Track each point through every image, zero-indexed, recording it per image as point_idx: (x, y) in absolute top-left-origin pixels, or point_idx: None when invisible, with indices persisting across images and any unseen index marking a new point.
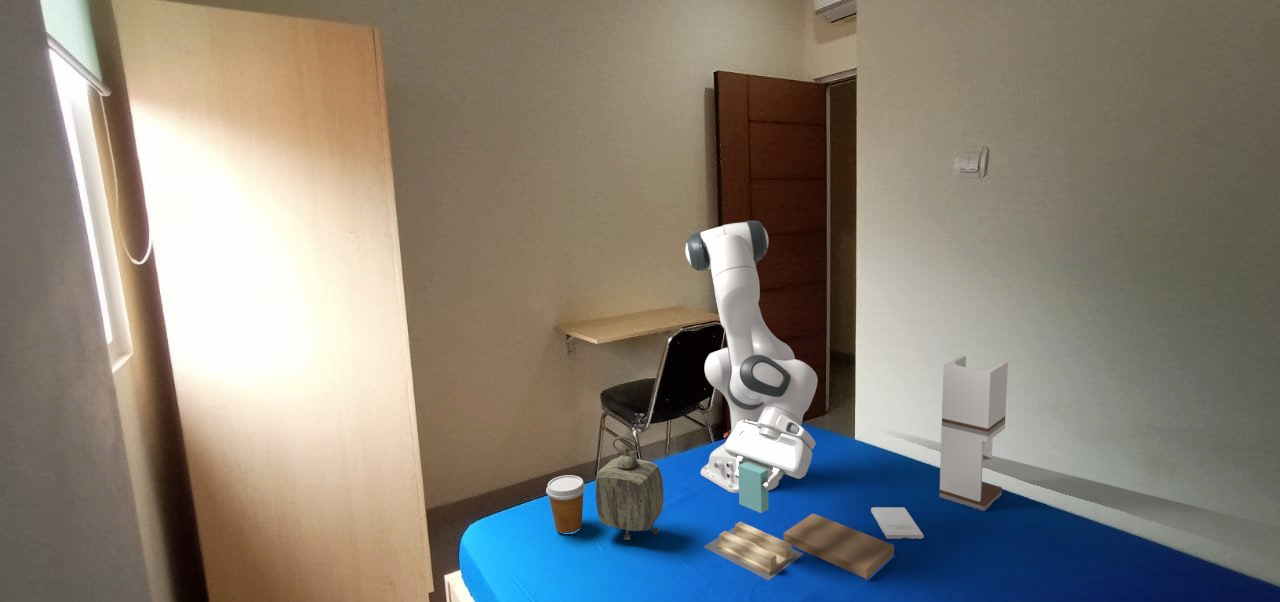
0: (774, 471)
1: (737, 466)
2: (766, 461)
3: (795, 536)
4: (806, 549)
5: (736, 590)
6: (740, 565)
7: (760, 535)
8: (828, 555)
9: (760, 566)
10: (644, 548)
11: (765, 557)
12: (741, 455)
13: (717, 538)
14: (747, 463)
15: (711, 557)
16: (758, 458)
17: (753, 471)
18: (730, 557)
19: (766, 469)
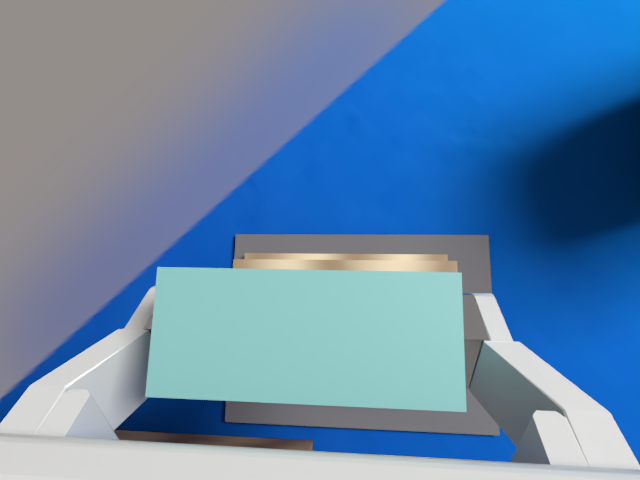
0: (59, 401)
1: (523, 354)
2: (131, 461)
3: None
4: (221, 440)
5: (281, 151)
6: (335, 236)
7: None
8: (136, 440)
9: (277, 257)
10: (621, 112)
11: (254, 259)
12: (583, 467)
13: None
14: (418, 393)
15: (432, 217)
16: (270, 473)
17: (246, 269)
18: (384, 248)
19: (157, 394)
